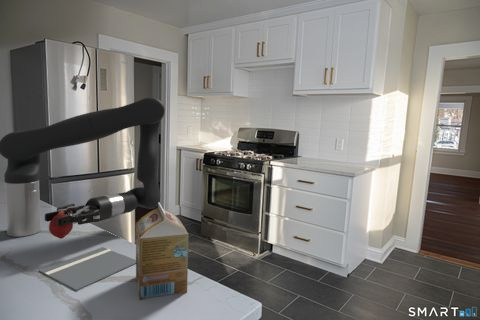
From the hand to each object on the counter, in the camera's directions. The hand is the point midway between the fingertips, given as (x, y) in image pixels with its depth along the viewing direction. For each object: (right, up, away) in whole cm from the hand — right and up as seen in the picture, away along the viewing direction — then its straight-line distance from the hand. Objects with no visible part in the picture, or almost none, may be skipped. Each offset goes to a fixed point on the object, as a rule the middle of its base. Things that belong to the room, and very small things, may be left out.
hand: (51, 220), depth 86 cm
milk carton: (+32, -14, -10) cm, 37 cm away
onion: (+1, -6, +3) cm, 7 cm away
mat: (+12, -12, -3) cm, 17 cm away
